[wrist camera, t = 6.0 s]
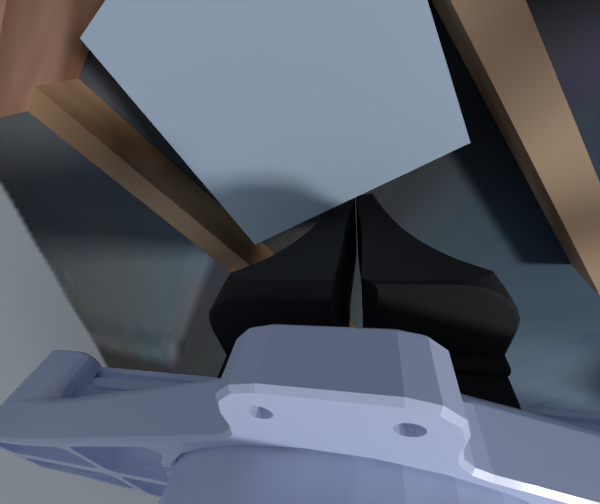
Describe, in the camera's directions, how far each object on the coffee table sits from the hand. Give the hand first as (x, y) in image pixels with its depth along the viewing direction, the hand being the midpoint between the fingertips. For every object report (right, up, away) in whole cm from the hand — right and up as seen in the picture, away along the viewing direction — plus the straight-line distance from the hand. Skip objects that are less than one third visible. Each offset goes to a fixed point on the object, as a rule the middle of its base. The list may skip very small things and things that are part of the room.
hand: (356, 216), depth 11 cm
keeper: (-2, +5, -2) cm, 6 cm away
